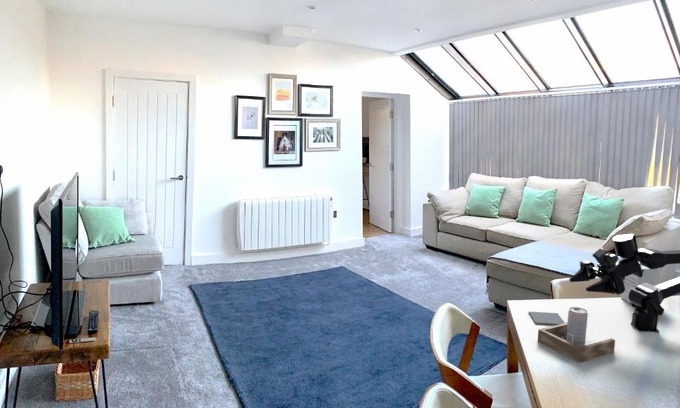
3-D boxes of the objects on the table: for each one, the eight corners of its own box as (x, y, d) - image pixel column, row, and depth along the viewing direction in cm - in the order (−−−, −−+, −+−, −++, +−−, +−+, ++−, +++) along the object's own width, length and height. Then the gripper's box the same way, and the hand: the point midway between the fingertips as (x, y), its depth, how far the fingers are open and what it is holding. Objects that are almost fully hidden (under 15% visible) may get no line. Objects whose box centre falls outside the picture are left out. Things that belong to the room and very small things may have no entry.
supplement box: (641, 297, 194) (645, 261, 192) (657, 306, 186) (662, 268, 183) (620, 298, 194) (623, 261, 191) (634, 306, 185) (639, 268, 182)
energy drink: (580, 343, 154) (583, 307, 152) (587, 350, 149) (590, 313, 147) (563, 342, 155) (566, 306, 153) (569, 350, 149) (572, 313, 147)
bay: (571, 332, 162) (572, 321, 161) (613, 352, 148) (615, 339, 147) (537, 341, 156) (538, 329, 155) (578, 362, 142) (580, 349, 141)
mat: (557, 314, 177) (557, 313, 177) (565, 325, 167) (565, 324, 167) (528, 313, 178) (528, 311, 178) (535, 324, 169) (535, 322, 168)
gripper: (597, 239, 168) (556, 255, 168) (635, 254, 150) (589, 271, 149) (604, 268, 171) (564, 284, 170) (643, 286, 152) (597, 303, 152)
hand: (577, 285), depth 160 cm, fingers open, 9 cm apart
